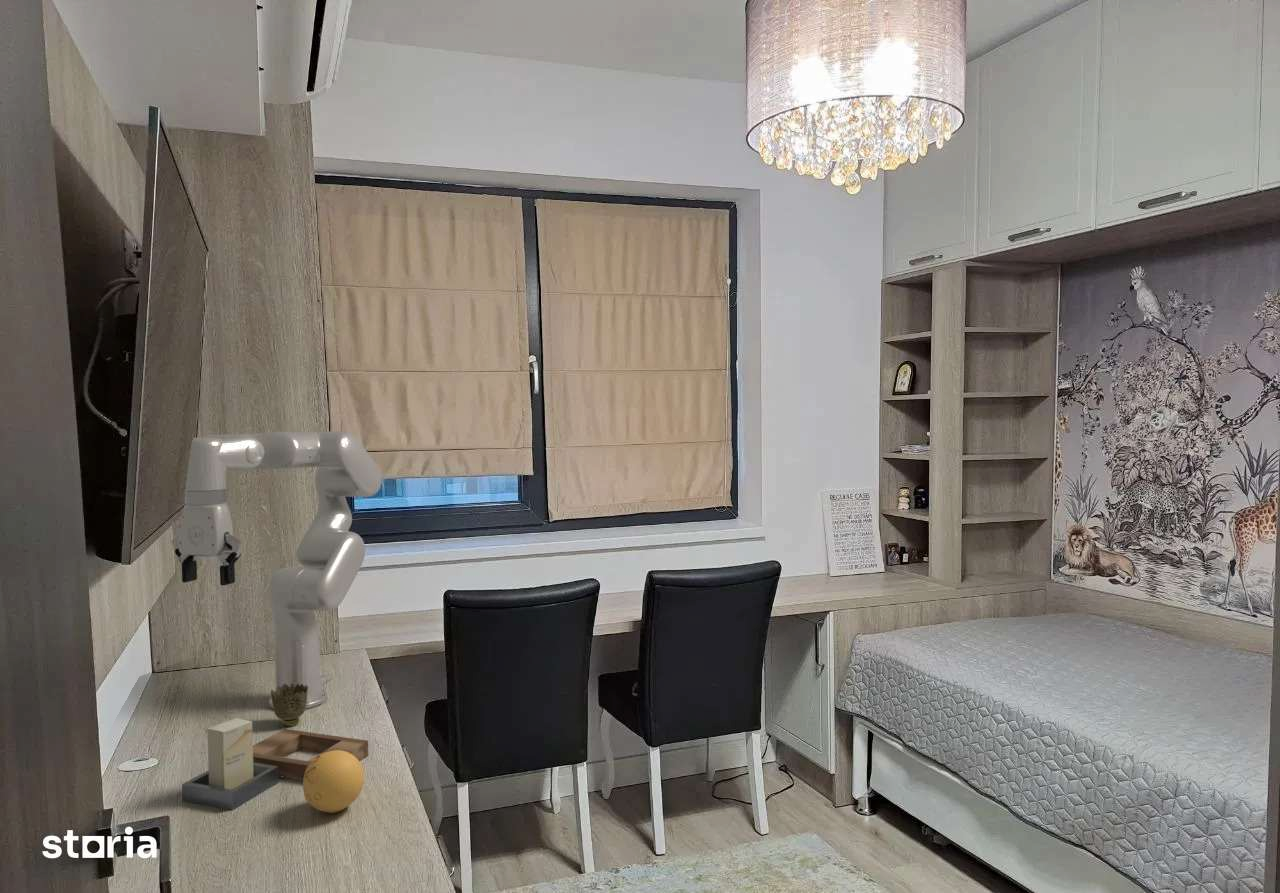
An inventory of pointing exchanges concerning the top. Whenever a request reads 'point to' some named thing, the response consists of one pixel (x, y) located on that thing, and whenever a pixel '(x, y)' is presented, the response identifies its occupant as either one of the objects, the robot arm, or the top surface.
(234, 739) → the skincare box
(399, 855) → the top surface
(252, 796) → the frame
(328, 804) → the stress ball
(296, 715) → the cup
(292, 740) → the wooden tray frame
